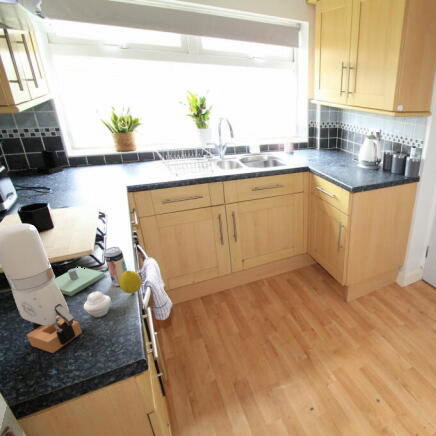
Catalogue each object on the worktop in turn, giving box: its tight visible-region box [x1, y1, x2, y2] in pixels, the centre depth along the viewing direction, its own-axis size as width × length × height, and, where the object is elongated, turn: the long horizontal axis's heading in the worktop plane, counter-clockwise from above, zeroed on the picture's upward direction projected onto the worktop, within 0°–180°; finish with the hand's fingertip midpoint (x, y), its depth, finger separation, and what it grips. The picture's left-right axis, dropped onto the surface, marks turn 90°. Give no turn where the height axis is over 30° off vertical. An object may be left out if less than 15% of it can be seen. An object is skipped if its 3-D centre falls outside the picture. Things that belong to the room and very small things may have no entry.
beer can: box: [103, 246, 128, 287], centre depth 99 cm, size 5×5×12 cm
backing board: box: [54, 266, 106, 297], centre depth 100 cm, size 11×11×4 cm
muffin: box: [83, 291, 112, 318], centre depth 87 cm, size 6×6×7 cm
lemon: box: [119, 270, 142, 295], centre depth 95 cm, size 6×6×8 cm
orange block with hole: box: [26, 315, 83, 354], centre depth 79 cm, size 7×7×4 cm
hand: (56, 336), depth 79 cm, fingers closed on orange block with hole, 7 cm apart
